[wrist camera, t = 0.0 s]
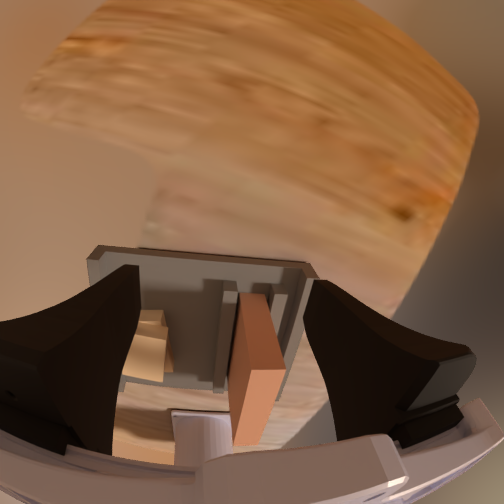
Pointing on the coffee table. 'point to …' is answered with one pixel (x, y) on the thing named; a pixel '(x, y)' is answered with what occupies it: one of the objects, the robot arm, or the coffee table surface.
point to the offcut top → (147, 353)
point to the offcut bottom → (159, 319)
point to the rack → (209, 306)
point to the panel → (253, 369)
